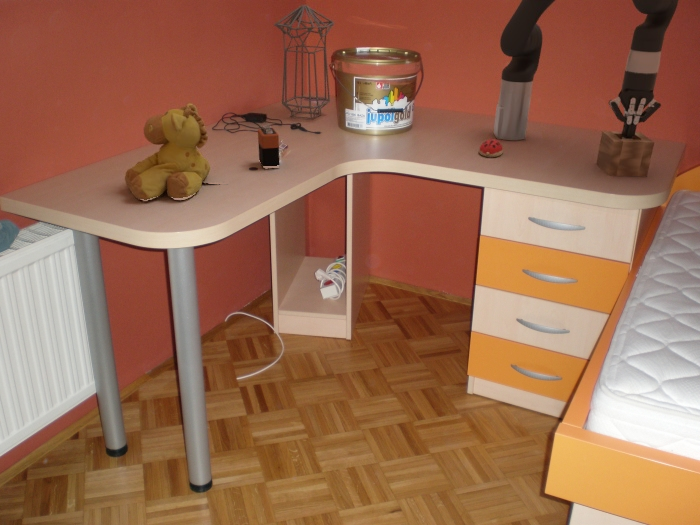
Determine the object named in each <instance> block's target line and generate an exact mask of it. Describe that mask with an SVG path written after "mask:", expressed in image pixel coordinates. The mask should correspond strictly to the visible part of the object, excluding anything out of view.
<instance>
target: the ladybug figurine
mask: <svg viewBox="0 0 700 525" xmlns="http://www.w3.org/2000/svg"><path fill="white" fill-rule="evenodd" d="M478 153H479V154H480V155H481V156H483V157H485V158H497V157H500V156H501V155H503V153H504V148H503V146H502V144H501V143H500V141H499V140H497V139H496V138H495V139H494V138H492V139H491V138H490V139H487V140H485V141H483V143H482V144H480V146H479V148H478Z"/></svg>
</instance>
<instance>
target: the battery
mask: <svg viewBox="0 0 700 525" xmlns="http://www.w3.org/2000/svg"><path fill="white" fill-rule="evenodd" d="M257 139H258V160H260V162H261V164H262V165H263V166H277V165H280V140H279V139H280V137H279V134H278V132H277V131H276V130H275V128H274V127H272V126H271V125H269V124H268V125H263V126H262V128H258V129H257ZM260 162H259V163H260ZM261 164H260V165H261ZM262 165H261V166H262Z"/></svg>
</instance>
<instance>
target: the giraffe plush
mask: <svg viewBox="0 0 700 525" xmlns="http://www.w3.org/2000/svg"><path fill="white" fill-rule="evenodd" d="M143 135H144V137H145V139H146V140H147V141H148V142H149V143H150V144H153V145H160V146H161V147H159V149H158V151H156V152H154V153H153V154H152V155H150V156H147V157H146V158H145V159H143V160H141V161H138V162H136V164H135V165H134V166H132V167H130V168H128V169H127V170H126V171H125V176H124V181H125V184H126V186H127V188H128V189H129V190H130V191H131V193H132V195H133V196H134V197H135V198H136V199H137V198H138V199H137V200H139V199H144V200H147V199H150V198H153V197H157V196H160V195H161V194H162V195H163V193H165V191H166V193H167V196H168V197H169V196H170V197H173V198H183V197H188V196H190V195H193V194H194V193H196V192H197V191H198V190H199V189H201V187H202V185H203V184H202V182H204V180H205V179H206V177H207V176H209V175H210V171H211V164H210V163H209V160H207V159H206V158H205V157H204V156H203V154H202V153H201V152H200V151H199V150H198V149H201V148H203V147H204V146H205V145H206V143H208V140H209V135H208V132H207V130H206V124H205V121H204V120H203V118H202V117H201V115H199V113H198V108H197V106H196V104H195V105H194V104H193V103H190V102H189V103H186V105H182V106H181V107H180V109H179V108H174V109H172V108H171V109H170V110H168V111H166V112H165V113H164V114H158V115H154V116H151V117H149V118H147V120H146V122H145V125H144V127H143ZM199 191H200V190H199ZM199 191H198V192H199ZM198 192H197V193H198ZM162 195H161V196H162ZM161 196H160V197H161ZM170 197H169V198H170Z"/></svg>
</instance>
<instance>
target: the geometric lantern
mask: <svg viewBox="0 0 700 525" xmlns="http://www.w3.org/2000/svg"><path fill="white" fill-rule="evenodd" d="M304 11H305V12H306V15H307V17H308V19H309V21H307V20H303V15H304ZM318 16H320V17H322V18H323V19H325V20H327V21H322V19H320V17H318ZM286 19H287V20H286ZM312 19H313V20H312ZM285 20H286V21H285ZM283 21H285V22H284V23H282V22H283ZM295 21H297V27H293V25H294V23H295ZM306 24H308V25H310V26H307V25H306ZM314 24H315V25H316V26H315V25H314ZM334 25H335V22H334V21H333V20H331V19H330V18H328V17H326V16H325V15H323V14H322V13H319V12H318V11H317V10H315V9H313V8H311V7H310V6H308V5H307V4H303V5H302V4H301V5H300V6H298V8H296V9H294V10H292V11H291V12H290V13H288V14H287V15H286V16H284V17H282V18H281V19H280V20H278V21H277V22H275V23H274V24H273V26H275V27H277V28H278V29H279V30H280V31H281V32H282V35H283V36H282V38H283V41H282V42H283V51H284V53H283V54H284V56H283V73H282V95H281V104H282V105H283V106H284V107H285V108H286V109H287V110H289V111H290V118H294V119H295V118H297V119H309V120H310V119H311V120H314V119H316V118H318V117H319V116H321V115H322V108H324V107H325V106H326V105H327V104H329V103H330V101H331V98H330V96H331V94H330V85H329V84H330V83H329V82H330V81H329V74H328V73H329V71H328V70H329V69H328V60H327V47H326V46H327V34H328V33H329V32H330V30H331V29H332V28H333V26H334ZM300 26H302V27H300ZM285 28H286V30H285ZM313 29H317V31H315V30H313ZM292 30H294V31H295V32H296V35H293V32H291V31H292ZM299 30H305V31H304V32H302V33H301V34H299V33H298V31H299ZM323 30H325V31H324V32H325V33H324V34H323ZM310 33H314V34H318V35H319V36H320V38H319V41H318V43H317V45H316V46H313V45H305V42H306V41H307V38H308V37H309V35H310ZM285 34H286V35H287V36H288V37H289V38H290V41H289V43H288V46H287V47H286V38H285V37H286V35H285ZM305 34H306V36H305V37H304V39H303V40H302V38H301V37H302V36H304V35H305ZM296 38H297V39H299V41H300V43H301V45H299V42H297V39H296ZM293 39H294V41H295V43H296V44H297V45H295V44H294V45H293V46H290V45H291V43H292V41H293ZM323 39H324V40H323ZM321 41H322V43H323V46H319V45H320V43H321ZM292 48H295V50H290V49H292ZM298 48H301V50H298ZM308 48H313V49H314V51H309V49H308ZM304 49H305V51H304ZM317 49H318V50H317ZM321 51H323V70H324V71H323V74H324V98H323V97H319V96H318V95H319V92H318V91H319V90H318V80H317V79H318V75H317V63H316V62H317V60H316V53H318V52H321ZM287 52H292V53H295V72H294V74H295V75H294V97H292V98H289V99H288V97H287V96H288V94H287V93H288V91H287V89H288V88H287V87H288V86H287V84H288V83H287V81H288V80H287V72H288V71H287V63H288V62H287V59H288V58H287V57H288V56H287V55H288V54H287ZM298 53H300V55H301V60H300V61H301V64H300V65H301V96H297V81H298V80H297V77H298ZM304 54H307V63H308V64H307V65H308V66H307V70H308V73H307V74H308V96H304ZM310 54H313V68H314V83H315V96H316V97H313V96H312V94H311V62H310V61H311V60H310V58H311V57H310ZM297 99H300V105H299V103H298V100H297ZM303 99H307V100H308V101H309V102H308V105H303ZM292 100H294V101H295V103H296V104H289V103H288V102H291V101H292ZM312 100H316V106H312ZM319 100H321V101H322V102H321V103H320V104H319ZM325 101H326V102H325ZM291 107H292V109H291ZM293 107H294V108H293ZM296 109H297V110H296ZM299 109H300V110H299ZM302 109H308V110H309V111H303V110H302ZM312 109H314V110H313V112H312ZM299 113H300V114H309V115H310V117H309V116H308V117H306V116H297V115H298V114H299ZM312 114H313V115H312ZM295 115H296V116H295Z"/></svg>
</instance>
